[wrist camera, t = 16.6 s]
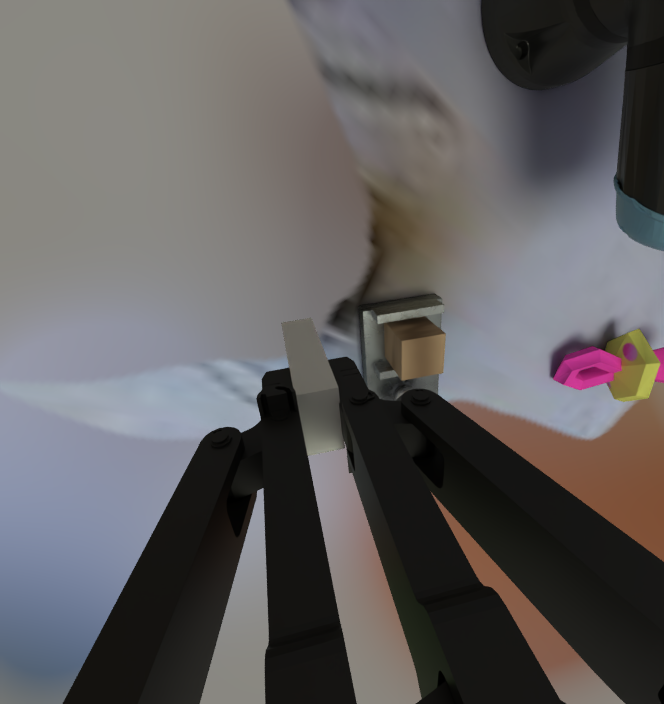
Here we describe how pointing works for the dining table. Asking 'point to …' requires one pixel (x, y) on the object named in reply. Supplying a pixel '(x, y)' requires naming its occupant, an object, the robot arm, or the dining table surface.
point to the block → (414, 347)
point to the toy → (615, 367)
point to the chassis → (373, 348)
